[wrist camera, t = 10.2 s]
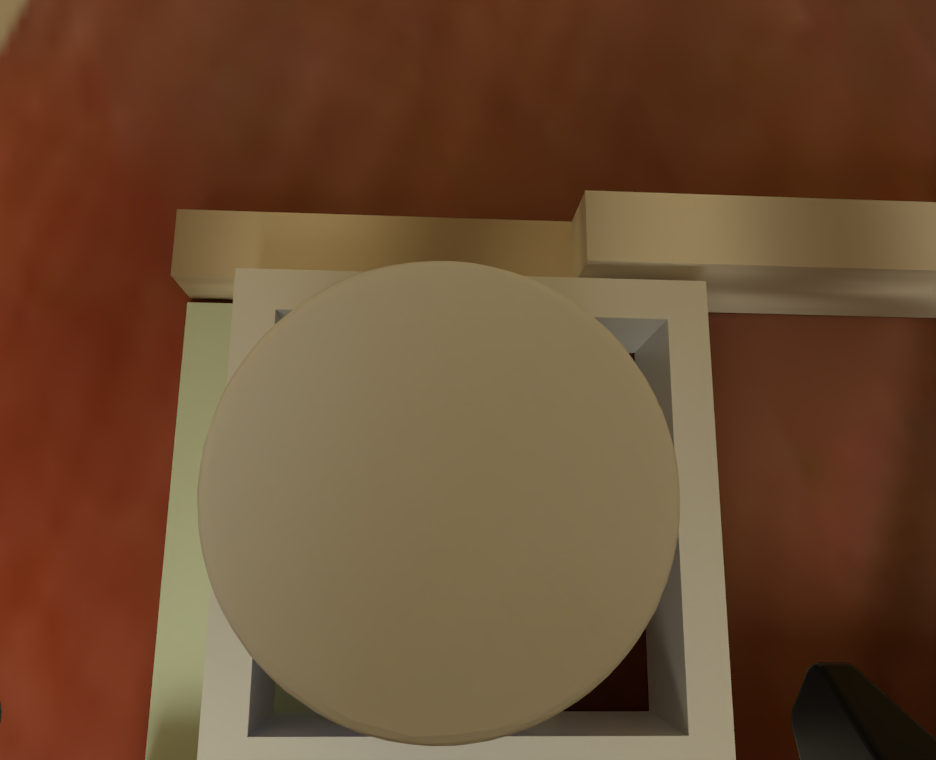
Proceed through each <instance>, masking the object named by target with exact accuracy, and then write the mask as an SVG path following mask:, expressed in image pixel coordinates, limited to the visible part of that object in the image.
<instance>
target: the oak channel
mask: <svg viewBox="0 0 936 760" xmlns="http://www.w3.org/2000/svg"><path fill="white" fill-rule="evenodd" d="M425 261H458V262H468V263H476V264H481V265H486V266H490V267H495V268H499V269H503V270H507V271H510V272H514V273H516V274H519V275H522V276H540V277H576V278H611V279H647V280H683V281H706V289H707V305H708V312H721V313H759V314H798V315H837V316H875V317H914V318H936V202H914V201H884V200H855V199H825V198H795V197H766V196H736V195H707V194H677V193H647V192H618V191H588V190H585V192H584V195H583V197H582V199H581V201H580V204H579V206H578V208H577V211H576V213H575V215H574V218H573V220H572V222H568V221H537V220H505V219H473V218H442V217H410V216H379V215H347V214H316V213H284V212H252V211H221V210H189V209H177V215H176V225H175V235H174V246H173V256H172V266H171V276H172V278H173V279H174V280H175V281H176V282H177V284H178V285H179V286H180V287H181V288H182V289H183V291H184V292H185V293H186V294H187V295H188V297H189V298H190V299H218V300H233V294H234V281H235V269H236V268H254V269H290V270H325V271H361V272H367V271H370V270H374V269H378V268H382V267H386V266H391V265H397V264H404V263H410V262H425Z"/></svg>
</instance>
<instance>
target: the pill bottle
mask: <svg viewBox="0 0 936 760" xmlns="http://www.w3.org/2000/svg"><path fill="white" fill-rule="evenodd" d="M197 505H198V530H199V536H200V543H201V549H202V554H203V558H204V562H205V566H206V570H207V574H208V577H209V580H210V583H211V586H212V589H213V591H214V594H215V596H216V599H217V601H218V603H219V605H220V607H221V609H222V611H223V614H224V616H225V617H226V619H227V621H228V622H229V624H230V626H231V628H232V629H233V631H234V633H235V634H236V636H237V637H238V639H239V640H240V642H241V643H242V644H243V646H244V647H245V649H246V650H247V652H248V653H249V655H250V656H251V657H252V658H253V659H254V660H255V661H256V663H257V664H258V665H259V666H260V667H261V668H262V669H263V670H264V671H265V672H266V673H267V674H268V675H269V677H270V678H271V679H273V680H274V681H275V682H276V683H277V684H278V685H279V686H280V687H281V688H282V689H283V690H284V691H286V692H287V693H288V694H290V695H291V696H293V697H294V698H296V699H297V700H299V701H300V702H301V703H303V704H304V705H306V706H307V707H309V708H310V709H312V710H313V711H314V712H316V713H317V714H319V715H321V716H323V717H325V718H327V719H329V720H331V721H332V722H334V723H336V724H339V725H341V726H343V727H346V728H348V729H350V730H353V731H355V732H358V733H361V734H364V735H368V736H371V737H375V738H379V739H382V740H386V741H390V742H397V743H404V744H411V745H421V746H458V745H466V744H473V743H479V742H485V741H491V740H494V739H498V738H501V737H504V736H508V735H511V734H514V733H517V732H520V731H523V730H527V729H529V728H532V727H534V726H536V725H538V724H540V723H542V722H544V721H546V720H548V719H550V718H552V717H553V716H555V715H557V714H558V713H560V712H562V711H563V710H565V709H567V708H568V707H570V706H571V705H573V704H574V703H576V702H578V701H579V700H580V699H582V698H583V697H584V696H586V695H587V694H589V693H590V692H591V691H592V690H593V689H594V688H596V687H597V686H598V685H599V684H600V683H601V682H602V681H603V680H605V679H606V678H607V677H608V676H609V675H610V674H611V673H612V671H613V670H614V669H615V668H616V667H617V666H618V665H619V664H620V663H621V662H622V660H623V659H624V658H625V657H626V655H627V654H628V653H629V652H630V650H631V649H632V648H633V646H634V645H635V644H636V643H637V641H638V639H639V638H640V636H641V634H642V633H643V631H644V629H645V628H646V626H647V624H648V623H649V621H650V619H651V618H652V616H653V614H654V612H655V611H656V609H657V606H658V604H659V601H660V599H661V597H662V594H663V592H664V589H665V586H666V584H667V581H668V577H669V574H670V571H671V567H672V564H673V559H674V555H675V550H676V544H677V538H678V529H679V521H680V485H679V476H678V467H677V460H676V456H675V451H674V447H673V443H672V439H671V436H670V432H669V429H668V426H667V423H666V420H665V417H664V414H663V412H662V409H661V407H660V406H659V404H658V401H657V398H656V396H655V395H654V393H653V391H652V389H651V387H650V385H649V384H648V382H647V380H646V378H645V376H644V375H643V373H642V372H641V371H640V369H639V368H638V366H637V365H636V363H635V362H634V360H633V359H632V357H631V356H630V355H629V353H628V352H627V350H626V349H625V348H624V346H623V345H622V344H621V343H620V342H619V341H618V340H617V339H616V338H615V336H614V335H613V334H612V333H611V332H610V331H609V330H608V329H607V328H606V327H604V326H603V325H602V324H601V323H600V322H599V321H597V320H596V319H595V318H594V317H593V316H592V315H590V314H589V313H588V312H587V311H585V310H584V309H583V308H582V307H580V306H579V305H578V304H577V303H575V302H573V301H572V300H570V299H569V298H567V297H566V296H564V295H563V294H561V293H559V292H558V291H556V290H554V289H552V288H550V287H548V286H546V285H544V284H541V283H539V282H537V281H535V280H533V279H530V278H527V277H525V276H522V275H519V274H516V273H514V272H510V271H507V270H503V269H499V268H495V267H490V266H486V265H481V264H476V263H468V262H458V261H425V262H410V263H404V264H397V265H391V266H386V267H382V268H378V269H374V270H370V271H367V272H364V273H361V274H358V275H355V276H352V277H350V278H347V279H345V280H342V281H339V282H337V283H334V284H333V285H331V286H329V287H327V288H325V289H324V290H322V291H320V292H318V293H317V294H315V295H313V296H312V297H310V298H308V299H307V300H305V301H303V302H302V303H301V304H299V305H298V306H297V307H296V308H294V309H293V310H292V311H291V312H289V313H288V314H287V315H286V316H284V317H283V318H282V319H281V320H279V321H278V322H277V323H276V324H275V325H274V326H273V327H272V328H271V329H270V330H269V331H268V332H267V333H266V334H265V335H264V336H263V337H262V338H261V339H260V340H259V341H258V342H257V344H256V345H255V346H254V347H253V348H252V350H251V351H250V352H249V353H248V354H247V356H246V357H245V358H244V360H243V361H242V363H241V364H240V366H239V367H238V368H237V370H236V371H235V373H234V374H233V376H232V378H231V379H230V381H229V383H228V384H227V386H226V388H225V390H224V392H223V394H222V396H221V399H220V401H219V403H218V405H217V407H216V410H215V412H214V415H213V418H212V421H211V424H210V427H209V430H208V433H207V436H206V440H205V443H204V446H203V452H202V458H201V465H200V471H199V478H198V488H197Z"/></svg>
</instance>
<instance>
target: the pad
mask: <svg viewBox="0 0 936 760" xmlns="http://www.w3.org/2000/svg"><path fill="white" fill-rule="evenodd" d="M232 307H233V303H198V302H187V311H186V322H185V333H184V344H183V355H182V366H181V377H180V387H179V398H178V409H177V420H176V431H175V442H174V453H173V463H172V474H171V485H170V496H169V507H168V518H167V529H166V539H165V550H164V561H163V572H162V583H161V594H160V605H159V615H158V626H157V637H156V648H155V659H154V670H153V681H152V691H151V702H150V713H149V724H148V735H147V746H146V757H145V760H197V752H198V740H199V727H200V714H201V702H202V689H203V676H204V663H205V651H206V638H207V625H208V612H209V600H210V587H211V583H210V580H209V577H208V574H207V570H206V566H205V562H204V558H203V554H202V549H201V543H200V536H199V530H198V505H197V488H198V478H199V471H200V465H201V458H202V452H203V446H204V443H205V440H206V436H207V433H208V430H209V427H210V424H211V421H212V418H213V415H214V412H215V410H216V407H217V405H218V403H219V401H220V399H221V396H222V394H223V392H224V390H225V388H226V383H227V370H228V358H229V345H230V332H231V320H232ZM274 712H314V711H313V710H312V709H310V708H309V707H307V706H306V705H304V704H303V703H301V702H300V701H299V700H297V699H296V698H294V697H293V696H291V695H290V694H288V693H287V692H286V691H284V690H283V689H282V688H281V687H280V686H279V685H278V684H277V683H276V682H275V699H274Z"/></svg>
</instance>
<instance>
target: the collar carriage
mask: <svg viewBox="0 0 936 760" xmlns="http://www.w3.org/2000/svg"><path fill="white" fill-rule="evenodd" d="M361 273H364V272H361V271H325V270H290V269H254V268H236V269H235V281H234V294H233V307H232V320H231V332H230V345H229V358H228V370H227V383H226V386H227V384H228V383H229V381H230V379H231V378H232V376H233V374H234V373H235V371H236V370H237V368H238V367H239V366H240V364H241V363H242V361H243V360H244V358H245V357H246V356H247V354H248V353H249V352H250V351H251V350H252V348H253V347H254V346H255V345H256V344H257V342H258V341H259V340H260V339H261V338H262V337H263V336H264V335H265V334H266V333H267V332H268V331H269V330H270V329H271V328H272V327H273V326H274V325H275V324H276V323H277V322H278V321H279V320H281V319H282V318H283V317H284V316H286V315H287V314H288V313H289V312H291V311H292V310H293V309H294V308H296V307H297V306H298V305H299V304H301V303H302V302H303V301H305V300H307V299H308V298H310V297H312V296H313V295H315V294H317V293H318V292H320V291H322V290H324V289H325V288H327V287H329V286H331V285H333V284H334V283H337V282H339V281H342V280H345V279H347V278H350V277H352V276H355V275H358V274H361ZM525 277H527V278H530V279H533V280H535V281H537V282H539V283H541V284H544V285H546V286H548V287H550V288H552V289H554V290H556V291H558V292H559V293H561V294H563V295H564V296H566V297H567V298H569V299H570V300H572V301H573V302H575V303H577V304H578V305H579V306H580V307H582V308H583V309H584V310H585V311H587V312H588V313H589V314H590V315H592V316H593V317H594V318H595V319H596V320H597V321H599V322H600V323H601V324H602V325H603V326H604V327H606V328H607V329H608V330H609V331H610V332H611V333H612V334H613V335H614V336H615V338H616V339H617V340H618V341H619V342H620V343H621V344H622V345H623V346H624V348H625V349H626V350H627V352H628V353H635V363H636V365H637V366H638V368H639V369H640V371H641V372H642V373H643V375H644V376H645V378H646V380H647V382H648V384H649V385H650V387H651V389H652V391H653V393H654V395H655V396H656V398H657V401H658V404H659V406H660V407H661V409H662V412H663V414H664V417H665V420H666V423H667V426H668V429H669V432H670V436H671V439H672V443H673V447H674V451H675V456H676V460H677V467H678V476H679V485H680V521H679V529H678V538H677V544H676V550H675V555H674V559H673V564H672V567H671V571H670V574H669V577H668V581H667V584H666V586H665V589H664V592H663V594H662V597H661V599H660V601H659V604H658V606H657V609H656V611H655V612H654V614H653V616H652V618H651V619H650V621H649V623H648V624H647V626H646V648H647V673H648V698H649V711H562V712H560V713H558V714H557V715H555V716H553V717H552V718H550V719H548V720H546V721H544V722H542V723H540V724H538V725H536V726H534V727H532V728H529V729H527V730H523V731H520V732H517V733H514V734H511V735H508V736H504V737H501V738H498V739H494V740H491V741H485V742H479V743H473V744H466V745H458V746H421V745H411V744H404V743H397V742H390V741H386V740H382V739H379V738H375V737H371V736H368V735H364V734H361V733H358V732H355V731H353V730H350V729H348V728H346V727H343V726H341V725H339V724H336V723H334V722H332V721H331V720H329V719H327V718H325V717H323V716H321V715H319V714H317V713H316V712H274V699H275V681H274V680H273V679H271V678H270V677H269V675H268V674H267V673H266V672H265V671H264V670H263V669H262V668H261V667H260V666H259V665H258V664H257V663H256V661H255V660H254V659H253V658H252V657H251V656H250V655H249V653H248V652H247V650H246V649H245V647H244V646H243V644H242V643H241V642H240V640H239V639H238V637H237V636H236V634H235V633H234V631H233V629H232V628H231V626H230V624H229V622H228V621H227V619H226V617H225V616H224V614H223V611H222V609H221V607H220V605H219V603H218V601H217V599H216V596H215V594H214V591H213V589H212V586H211V587H210V600H209V612H208V625H207V638H206V651H205V663H204V676H203V689H202V702H201V714H200V727H199V740H198V752H197V760H736V752H735V736H734V720H733V704H732V688H731V672H730V656H729V640H728V624H727V608H726V592H725V576H724V560H723V544H722V528H721V512H720V497H719V481H718V465H717V449H716V433H715V417H714V401H713V385H712V369H711V353H710V337H709V321H708V305H707V289H706V281H683V280H647V279H611V278H576V277H540V276H525Z"/></svg>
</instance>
